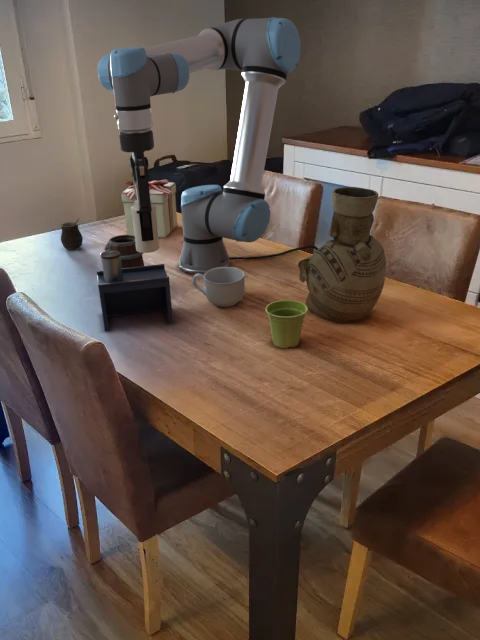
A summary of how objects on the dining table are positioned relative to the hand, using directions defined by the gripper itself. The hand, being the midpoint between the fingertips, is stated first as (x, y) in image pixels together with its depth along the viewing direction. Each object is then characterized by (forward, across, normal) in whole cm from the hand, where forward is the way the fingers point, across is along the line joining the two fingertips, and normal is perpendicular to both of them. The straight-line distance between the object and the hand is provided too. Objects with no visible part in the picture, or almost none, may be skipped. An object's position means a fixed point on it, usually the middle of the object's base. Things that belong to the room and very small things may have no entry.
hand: (146, 236), depth 151 cm
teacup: (+21, -5, +18) cm, 28 cm away
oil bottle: (+3, 0, 0) cm, 3 cm away
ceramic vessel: (+21, +11, +46) cm, 52 cm away
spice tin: (+10, 0, -9) cm, 13 cm away
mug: (+21, -21, -6) cm, 30 cm away
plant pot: (+21, +23, +28) cm, 42 cm away
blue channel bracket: (+21, 0, -4) cm, 21 cm away
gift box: (+22, -73, +8) cm, 76 cm away
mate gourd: (+21, -64, -20) cm, 70 cm away
